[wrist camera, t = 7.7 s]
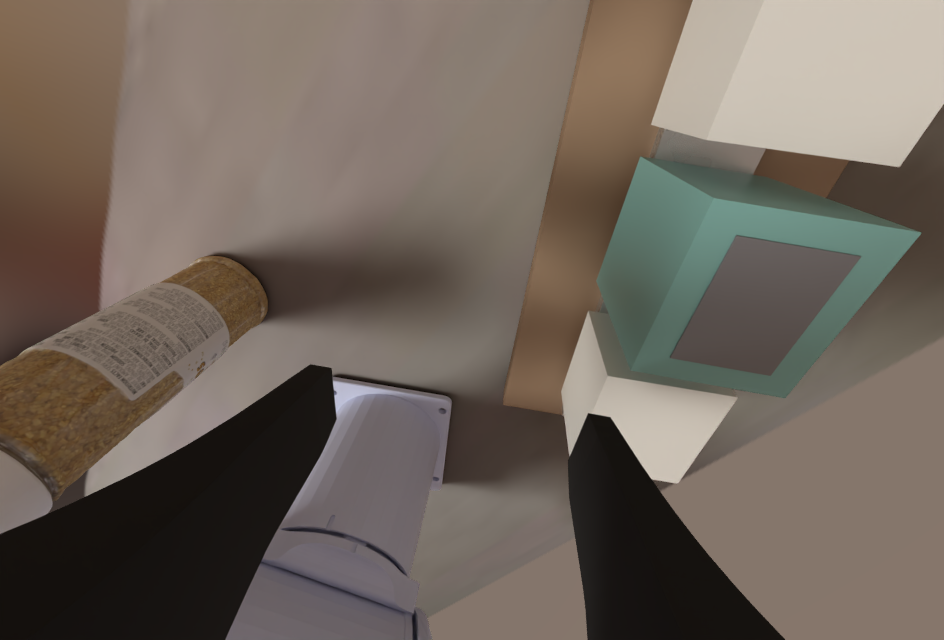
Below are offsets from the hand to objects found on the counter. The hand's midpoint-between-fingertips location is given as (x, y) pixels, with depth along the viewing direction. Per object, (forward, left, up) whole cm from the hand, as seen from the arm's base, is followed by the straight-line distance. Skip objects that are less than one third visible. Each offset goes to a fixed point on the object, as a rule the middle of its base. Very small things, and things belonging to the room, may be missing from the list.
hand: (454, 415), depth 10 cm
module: (+4, -7, -8) cm, 11 cm away
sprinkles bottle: (-3, +14, -10) cm, 17 cm away
